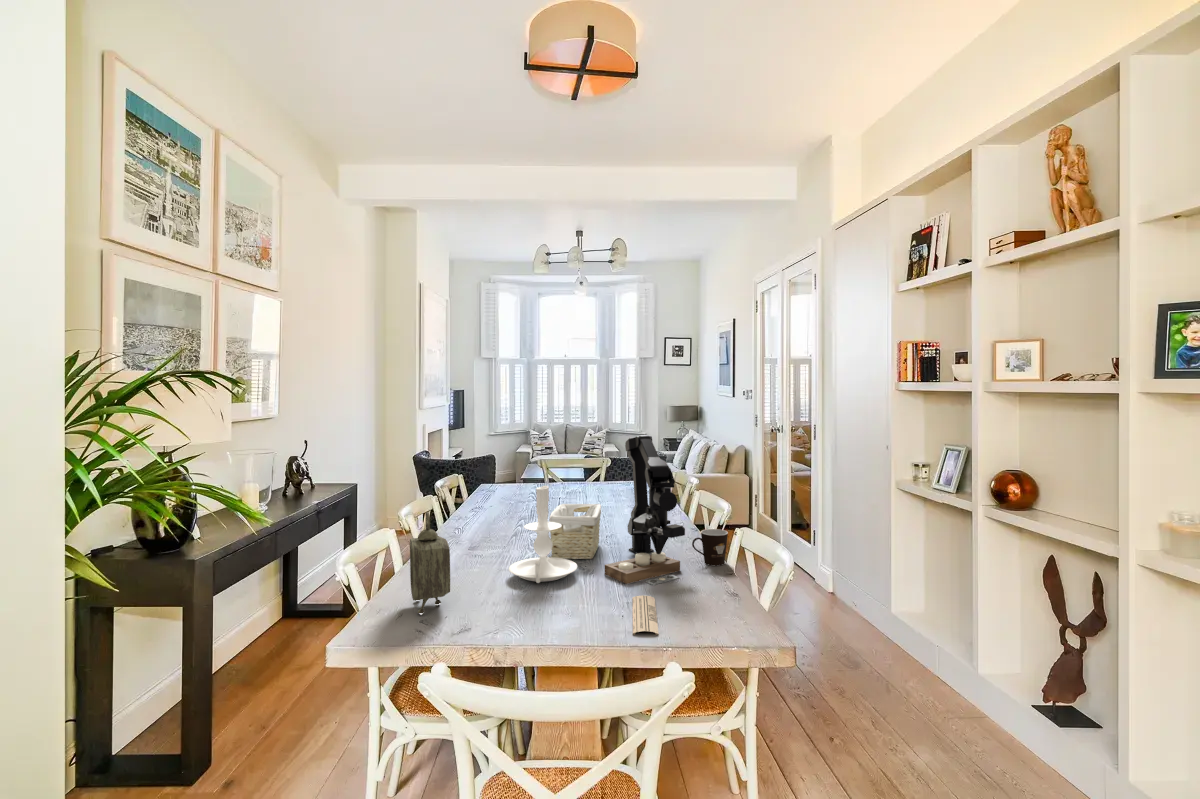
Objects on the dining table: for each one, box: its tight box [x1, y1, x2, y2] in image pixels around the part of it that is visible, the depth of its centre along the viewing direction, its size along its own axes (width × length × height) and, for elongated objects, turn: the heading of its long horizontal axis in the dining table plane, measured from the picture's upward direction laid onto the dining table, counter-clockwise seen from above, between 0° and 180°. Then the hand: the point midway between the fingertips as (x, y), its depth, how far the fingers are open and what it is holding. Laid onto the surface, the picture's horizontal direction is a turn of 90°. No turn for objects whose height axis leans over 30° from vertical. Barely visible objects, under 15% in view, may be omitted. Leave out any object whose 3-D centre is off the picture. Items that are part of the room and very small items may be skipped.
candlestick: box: [508, 485, 578, 584], centre depth 180 cm, size 21×25×28 cm
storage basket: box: [548, 503, 602, 560], centre depth 211 cm, size 24×16×15 cm
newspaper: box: [631, 594, 660, 636], centre depth 151 cm, size 24×7×2 cm, turn 177°
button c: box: [651, 551, 667, 563], centre depth 190 cm, size 4×4×3 cm
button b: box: [634, 553, 651, 567], centre depth 186 cm, size 4×4×3 cm
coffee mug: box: [691, 528, 729, 567], centre depth 196 cm, size 12×9×10 cm
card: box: [644, 574, 680, 586], centre depth 179 cm, size 4×10×1 cm, turn 125°
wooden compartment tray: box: [604, 553, 681, 585], centre depth 186 cm, size 11×21×3 cm, turn 125°
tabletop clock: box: [409, 511, 451, 614], centre depth 158 cm, size 14×9×25 cm, turn 21°
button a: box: [619, 562, 633, 571], centre depth 182 cm, size 4×4×3 cm
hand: (658, 553), depth 190 cm, fingers closed, pressing on button c
